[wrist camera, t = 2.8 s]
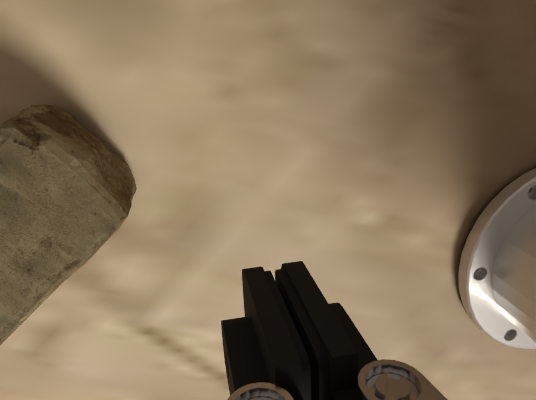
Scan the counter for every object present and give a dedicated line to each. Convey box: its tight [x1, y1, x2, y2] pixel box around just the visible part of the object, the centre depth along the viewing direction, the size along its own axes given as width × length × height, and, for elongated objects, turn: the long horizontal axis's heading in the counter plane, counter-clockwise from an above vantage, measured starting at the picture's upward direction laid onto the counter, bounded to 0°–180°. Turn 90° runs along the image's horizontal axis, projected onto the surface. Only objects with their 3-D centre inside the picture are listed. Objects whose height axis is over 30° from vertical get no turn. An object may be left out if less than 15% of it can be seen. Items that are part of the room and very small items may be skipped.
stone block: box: [0, 105, 136, 345], centre depth 19 cm, size 6×12×5 cm, turn 134°
